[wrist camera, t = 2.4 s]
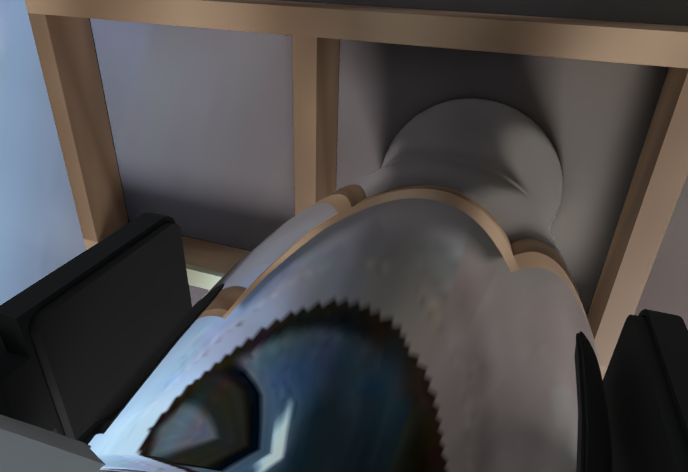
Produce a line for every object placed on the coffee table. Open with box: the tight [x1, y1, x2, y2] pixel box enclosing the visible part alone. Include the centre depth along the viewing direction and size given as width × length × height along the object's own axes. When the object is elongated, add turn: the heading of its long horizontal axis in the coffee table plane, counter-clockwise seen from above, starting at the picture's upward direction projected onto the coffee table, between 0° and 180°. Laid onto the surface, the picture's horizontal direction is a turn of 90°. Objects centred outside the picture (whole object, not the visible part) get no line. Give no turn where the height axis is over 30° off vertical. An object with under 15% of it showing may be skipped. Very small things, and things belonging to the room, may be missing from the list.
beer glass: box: [76, 98, 614, 472], centre depth 11 cm, size 7×7×15 cm
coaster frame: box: [25, 0, 688, 381], centre depth 18 cm, size 22×11×2 cm, turn 89°
